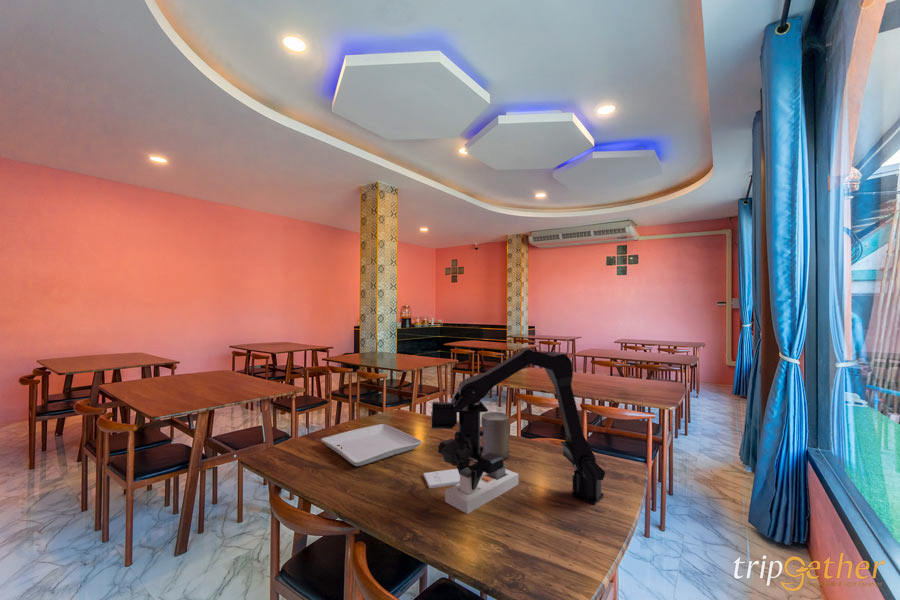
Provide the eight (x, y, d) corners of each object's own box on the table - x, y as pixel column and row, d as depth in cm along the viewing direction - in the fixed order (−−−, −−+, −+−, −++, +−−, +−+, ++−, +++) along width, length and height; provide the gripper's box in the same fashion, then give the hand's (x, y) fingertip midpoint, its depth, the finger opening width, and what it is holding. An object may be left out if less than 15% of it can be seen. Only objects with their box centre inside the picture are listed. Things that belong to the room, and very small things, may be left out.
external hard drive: (470, 485, 105) (429, 490, 102) (461, 472, 113) (423, 477, 110) (470, 479, 105) (429, 484, 102) (461, 467, 113) (423, 472, 110)
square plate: (319, 448, 132) (319, 437, 132) (383, 431, 150) (383, 422, 150) (354, 473, 112) (354, 460, 112) (423, 450, 130) (423, 440, 130)
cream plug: (478, 492, 96) (478, 469, 96) (468, 497, 93) (468, 474, 93) (469, 488, 98) (470, 466, 98) (459, 493, 95) (459, 470, 95)
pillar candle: (510, 451, 129) (510, 409, 130) (508, 462, 120) (507, 416, 120) (483, 448, 131) (483, 407, 132) (479, 459, 122) (478, 414, 123)
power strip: (518, 484, 104) (518, 471, 105) (467, 514, 89) (467, 499, 89) (496, 475, 110) (496, 463, 110) (444, 501, 95) (445, 487, 95)
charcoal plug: (505, 484, 104) (505, 464, 104) (496, 489, 101) (496, 468, 101) (497, 481, 106) (497, 460, 106) (488, 486, 103) (488, 464, 104)
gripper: (423, 426, 97) (423, 485, 96) (475, 445, 84) (475, 513, 83) (452, 417, 105) (452, 472, 104) (504, 433, 91) (504, 496, 91)
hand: (469, 487), depth 95 cm, fingers closed on cream plug, 3 cm apart
